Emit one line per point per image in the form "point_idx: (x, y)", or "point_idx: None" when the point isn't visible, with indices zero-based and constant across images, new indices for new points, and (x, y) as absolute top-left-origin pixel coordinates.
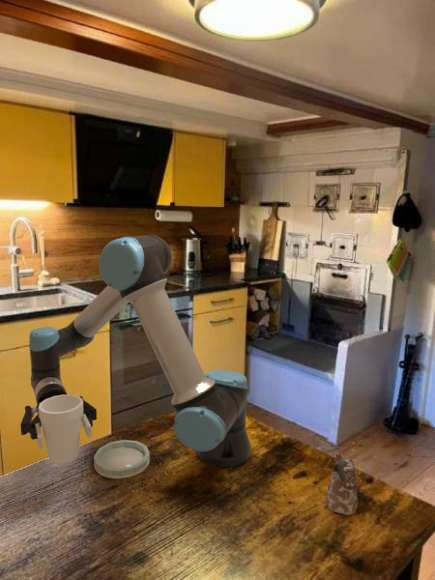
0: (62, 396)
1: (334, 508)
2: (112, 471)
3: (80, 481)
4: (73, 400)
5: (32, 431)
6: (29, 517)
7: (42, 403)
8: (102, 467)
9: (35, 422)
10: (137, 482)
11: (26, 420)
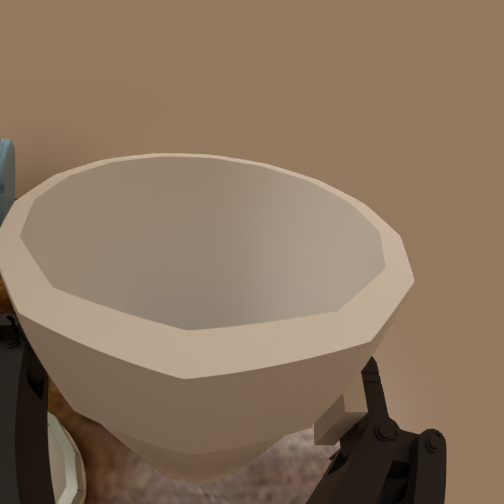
0: (61, 301)
1: None
2: (66, 435)
3: (141, 493)
4: (39, 257)
5: (370, 373)
6: (294, 446)
7: (386, 270)
8: (73, 463)
9: (364, 440)
10: (51, 389)
11: (421, 483)
